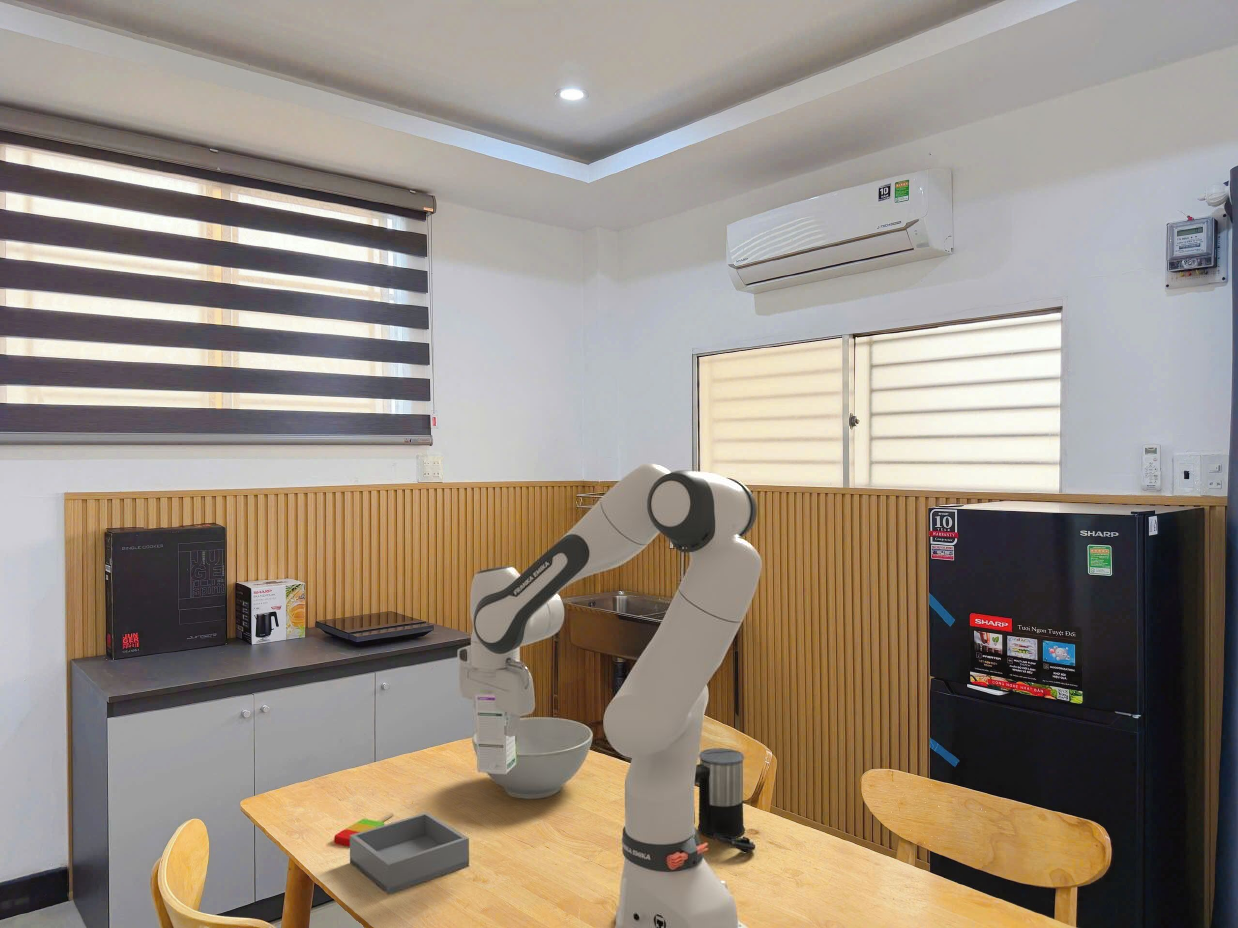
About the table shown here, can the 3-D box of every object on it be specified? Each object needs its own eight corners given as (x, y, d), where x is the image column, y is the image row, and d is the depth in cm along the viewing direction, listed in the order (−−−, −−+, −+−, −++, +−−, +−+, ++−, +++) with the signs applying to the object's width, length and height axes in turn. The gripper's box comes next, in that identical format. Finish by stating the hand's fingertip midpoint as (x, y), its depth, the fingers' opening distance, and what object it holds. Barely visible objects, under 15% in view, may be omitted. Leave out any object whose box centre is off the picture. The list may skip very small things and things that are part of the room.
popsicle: (331, 845, 165) (331, 835, 165) (381, 816, 179) (381, 807, 179) (354, 850, 163) (354, 840, 163) (403, 819, 176) (403, 810, 177)
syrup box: (506, 774, 154) (505, 694, 154) (475, 772, 155) (475, 692, 155) (517, 763, 159) (516, 685, 159) (487, 761, 161) (487, 684, 161)
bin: (469, 865, 155) (468, 837, 155) (388, 894, 145) (388, 864, 145) (427, 837, 167) (426, 812, 167) (350, 862, 156) (349, 835, 157)
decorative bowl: (485, 766, 206) (485, 716, 206) (596, 767, 205) (596, 717, 205) (460, 812, 179) (460, 754, 179) (588, 813, 178) (588, 754, 178)
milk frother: (717, 816, 176) (716, 743, 176) (783, 838, 165) (782, 761, 165) (672, 838, 166) (672, 761, 166) (739, 864, 155) (738, 782, 155)
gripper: (542, 660, 152) (544, 738, 152) (481, 644, 167) (482, 715, 167) (512, 666, 148) (514, 746, 147) (452, 649, 163) (453, 722, 163)
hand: (496, 730), depth 157 cm, fingers closed on syrup box, 7 cm apart
